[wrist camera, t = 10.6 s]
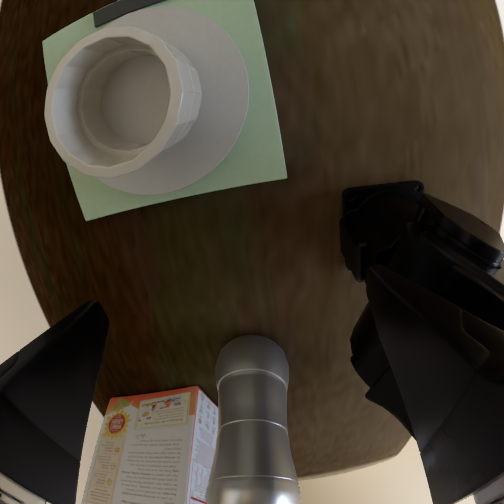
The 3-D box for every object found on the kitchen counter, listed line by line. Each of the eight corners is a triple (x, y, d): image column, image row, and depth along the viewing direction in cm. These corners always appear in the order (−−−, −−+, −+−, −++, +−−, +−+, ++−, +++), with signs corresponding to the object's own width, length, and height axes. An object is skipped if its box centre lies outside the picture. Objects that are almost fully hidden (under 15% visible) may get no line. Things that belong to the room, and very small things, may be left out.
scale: (245, -23, 12) (244, -40, 10) (284, 171, 19) (289, 182, 16) (57, 43, 13) (35, 40, 11) (97, 211, 20) (80, 226, 18)
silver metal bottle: (270, 315, 25) (284, 568, 7) (296, 360, 28) (318, 560, 10) (204, 337, 26) (176, 561, 9) (237, 377, 29) (232, 563, 12)
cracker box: (136, 418, 35) (109, 545, 17) (109, 395, 32) (71, 532, 14) (223, 408, 32) (214, 567, 14) (198, 383, 30) (178, 566, 11)
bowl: (190, 30, 12) (166, 4, 8) (213, 139, 15) (198, 155, 11) (85, 68, 13) (34, 66, 8) (109, 167, 16) (65, 194, 11)
